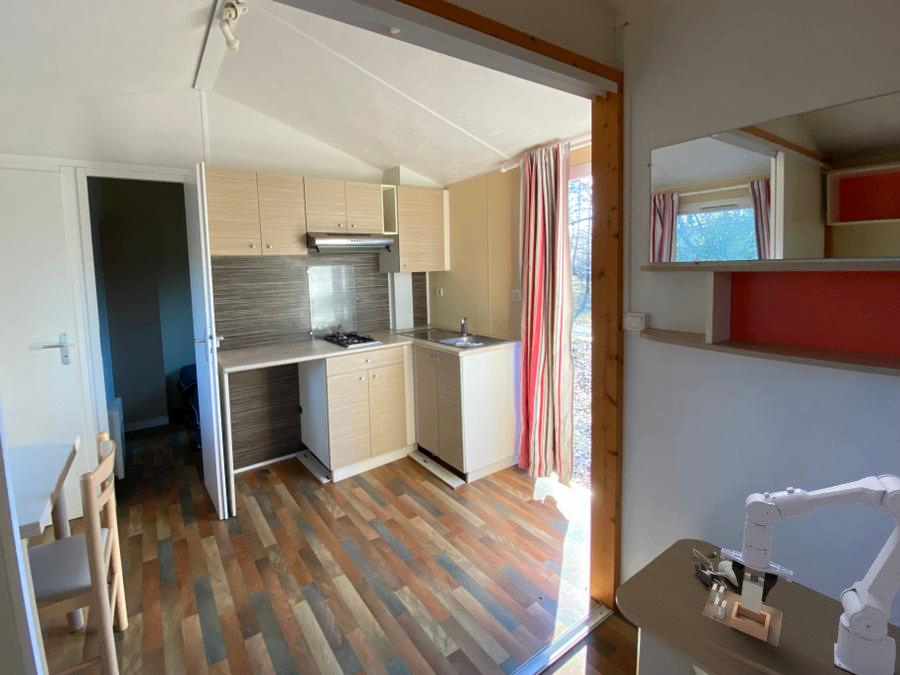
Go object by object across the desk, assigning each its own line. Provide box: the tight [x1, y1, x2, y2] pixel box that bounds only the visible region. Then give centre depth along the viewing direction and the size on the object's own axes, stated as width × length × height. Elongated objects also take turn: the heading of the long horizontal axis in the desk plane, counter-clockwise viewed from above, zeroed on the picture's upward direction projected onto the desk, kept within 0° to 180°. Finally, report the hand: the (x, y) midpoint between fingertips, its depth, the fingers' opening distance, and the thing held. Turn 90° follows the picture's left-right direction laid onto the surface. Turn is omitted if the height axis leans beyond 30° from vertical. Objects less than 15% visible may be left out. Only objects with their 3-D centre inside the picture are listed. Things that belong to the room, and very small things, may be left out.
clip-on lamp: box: [692, 548, 739, 590], centre depth 133 cm, size 12×6×18 cm
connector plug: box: [740, 572, 764, 614], centre depth 111 cm, size 4×4×8 cm
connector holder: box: [730, 602, 770, 642], centre depth 112 cm, size 7×7×2 cm
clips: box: [711, 583, 727, 620], centre depth 118 cm, size 4×9×3 cm, turn 140°
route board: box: [701, 586, 784, 648], centre depth 116 cm, size 16×15×1 cm
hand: (752, 595), depth 111 cm, fingers closed on connector plug, 4 cm apart
